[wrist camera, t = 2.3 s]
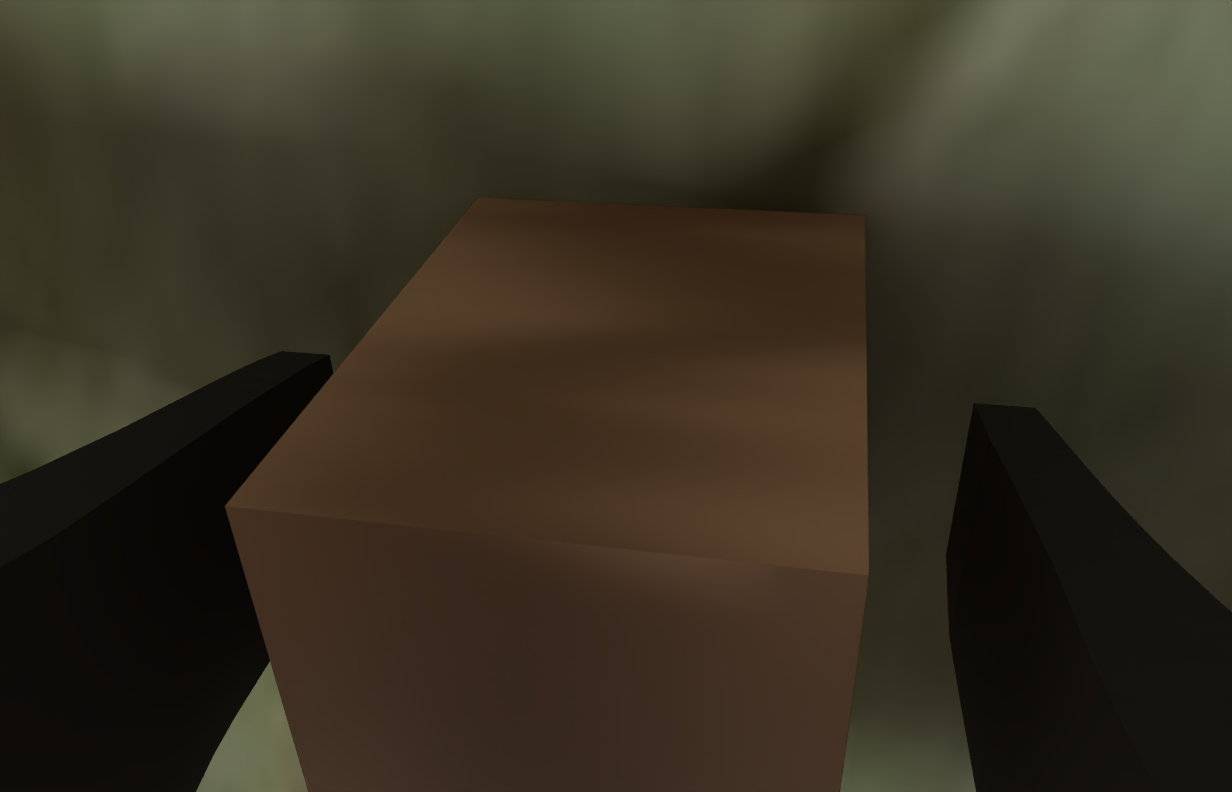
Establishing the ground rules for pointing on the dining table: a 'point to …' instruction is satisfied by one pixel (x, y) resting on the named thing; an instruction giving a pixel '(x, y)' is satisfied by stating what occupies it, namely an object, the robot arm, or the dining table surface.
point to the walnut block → (580, 512)
